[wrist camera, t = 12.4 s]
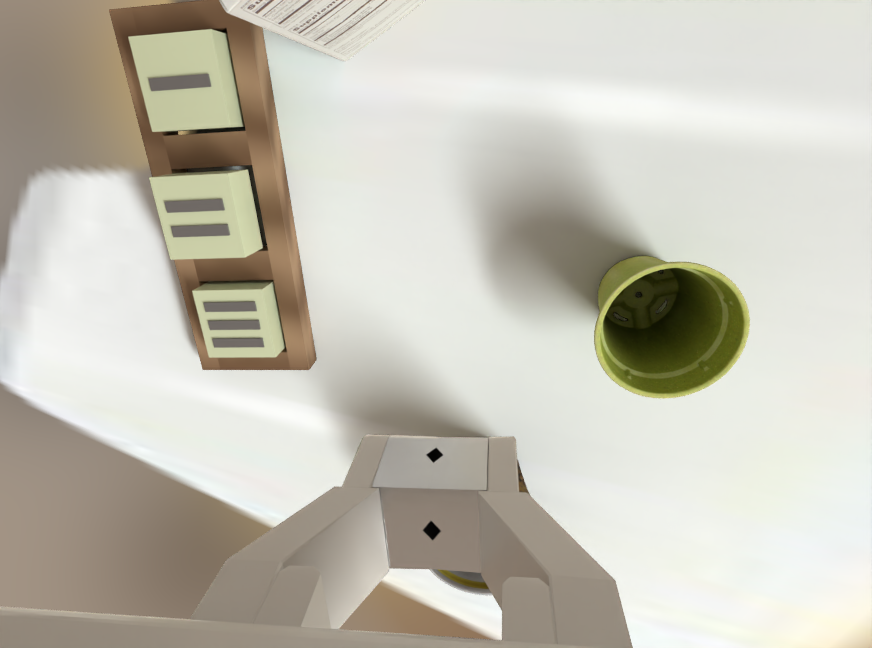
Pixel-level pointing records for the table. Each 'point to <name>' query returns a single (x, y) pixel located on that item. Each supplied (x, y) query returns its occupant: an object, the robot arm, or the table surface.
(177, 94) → the tile one
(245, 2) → the supplement box
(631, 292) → the plant pot
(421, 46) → the table surface
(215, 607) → the robot arm
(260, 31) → the frame
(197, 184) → the tile two
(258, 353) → the tile three
